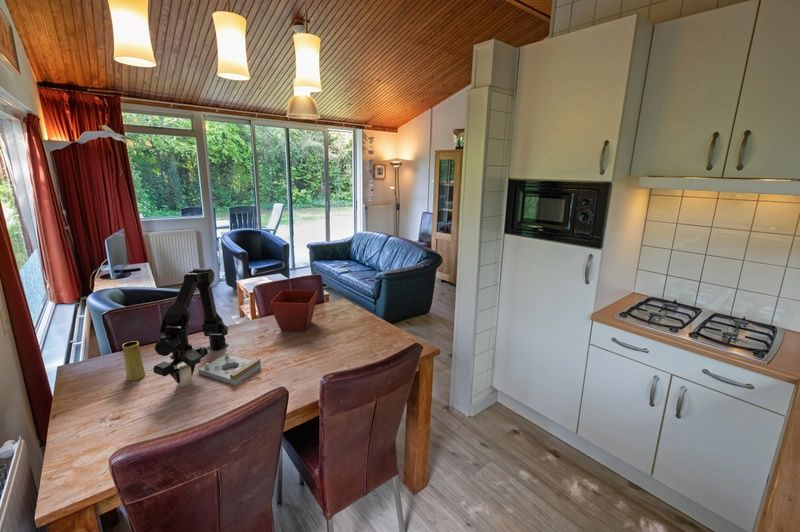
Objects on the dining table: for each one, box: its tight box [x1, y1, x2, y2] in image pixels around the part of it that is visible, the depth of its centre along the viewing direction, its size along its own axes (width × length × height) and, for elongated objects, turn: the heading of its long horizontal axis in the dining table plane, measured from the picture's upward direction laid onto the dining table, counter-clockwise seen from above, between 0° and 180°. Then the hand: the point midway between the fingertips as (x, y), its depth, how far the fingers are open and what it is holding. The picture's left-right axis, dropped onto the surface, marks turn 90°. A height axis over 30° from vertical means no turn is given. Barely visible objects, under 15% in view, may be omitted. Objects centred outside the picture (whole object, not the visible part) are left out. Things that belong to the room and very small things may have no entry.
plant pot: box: [270, 289, 318, 332], centre depth 195 cm, size 19×19×17 cm
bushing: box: [177, 363, 194, 388], centre depth 144 cm, size 5×5×7 cm
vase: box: [121, 340, 146, 382], centre depth 146 cm, size 6×6×14 cm
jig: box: [198, 351, 262, 386], centre depth 153 cm, size 19×14×4 cm
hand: (184, 379), depth 144 cm, fingers closed on bushing, 5 cm apart
